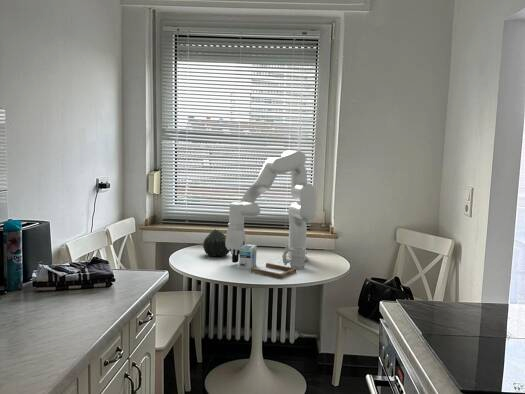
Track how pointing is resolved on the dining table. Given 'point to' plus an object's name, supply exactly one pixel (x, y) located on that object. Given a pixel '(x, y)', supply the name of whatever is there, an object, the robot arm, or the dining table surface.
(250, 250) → the light bulb box
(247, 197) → the robot arm
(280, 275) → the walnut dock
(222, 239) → the squash
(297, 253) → the mug
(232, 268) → the dining table surface
